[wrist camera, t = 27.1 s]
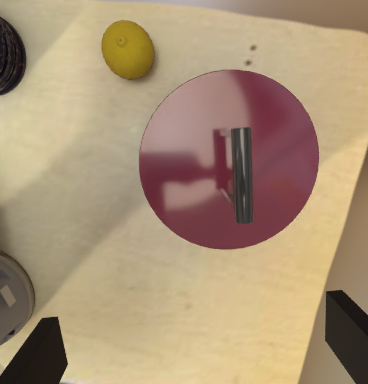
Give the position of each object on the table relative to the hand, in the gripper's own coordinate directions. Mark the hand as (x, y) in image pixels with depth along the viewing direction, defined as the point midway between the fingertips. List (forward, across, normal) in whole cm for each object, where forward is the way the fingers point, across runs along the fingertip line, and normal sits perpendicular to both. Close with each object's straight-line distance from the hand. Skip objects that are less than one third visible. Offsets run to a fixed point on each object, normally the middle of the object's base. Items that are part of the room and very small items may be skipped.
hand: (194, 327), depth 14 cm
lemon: (+26, -4, +18) cm, 32 cm away
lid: (+19, +5, +5) cm, 20 cm away
